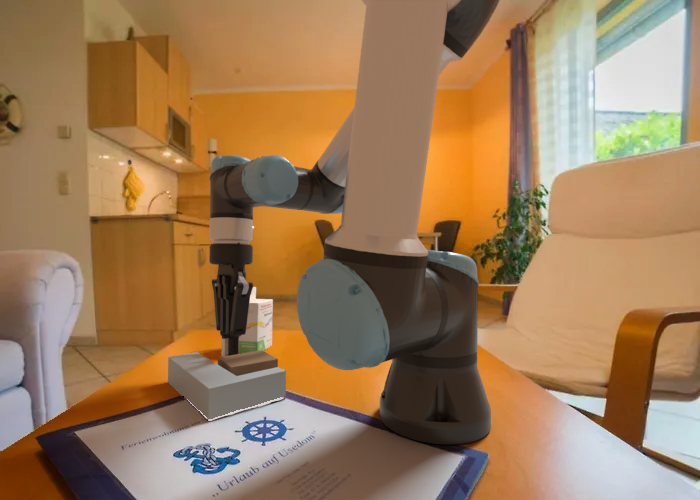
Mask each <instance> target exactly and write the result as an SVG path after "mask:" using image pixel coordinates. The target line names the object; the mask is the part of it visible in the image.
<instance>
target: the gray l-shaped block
mask: <svg viewBox="0 0 700 500" xmlns="http://www.w3.org/2000/svg"><path fill="white" fill-rule="evenodd" d="M167 365H168V366H167V383H168V384H169V385H170V386H171V387H172V388H173V389H174V390H175V391H176V392H177V393H178V394H179V395H180V396H181V397H182V396H184V397H185V398H186V399H188V400H189V401H190V402H191V403H192V404H193V405H194V406H195V407H196V408H197V409H198V410H200V411H201V412H202V413H203V415H205V416H206V417H207V418H208V419H213V418H215V417H218V416H222V415H225V414H228V413H230V412H234V411H236V410H240V409H245V408H248V407H252V406H255V405H258V404H261V403H264V402H267V401H270V400H274V399H277V398H280V397H284V396H286V397H287V395H286V394H287V393H286V392H287V391H286V390H287V386H286V385H287V371H286V370H285V369H283V368H281V367H279V366H278V367H276V368H271V369H267V370H262V371H258V372H253V373H249V374H244V375H240V376H236V375H234V374H232V373H231V372H229V371H227V370H226V369H224V368H222V367H221V366H219V365H218V363H216V362H214V361H212V360H211V359H209V358H208V357H206V356H205V355H203V354H201V353H199V352H198V351H197V352H196V351H195V352H190V353H183V354H178V355H177V354H176V355H173V356H172V355H171V356H168V358H167ZM185 398H184V399H185ZM186 399H185V400H186Z"/></svg>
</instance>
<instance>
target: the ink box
mask: <svg viewBox="0 0 700 500" xmlns="http://www.w3.org/2000/svg"><path fill="white" fill-rule="evenodd" d="M256 297H257V286H253V289H252V292H251V295H250V301H249V309H248V318H247V326H246V333H245V334H244V335H241V336H239V354H241V353H248V352H254V351H260V350H262V351H265V350H267V349H269V348H271V347H272V346H273V310H274V309H273V308H274V304H273V303H274V299H272V298H271V299H270V298H269V299H266V298H256ZM270 346H271V347H270Z"/></svg>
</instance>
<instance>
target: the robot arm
mask: <svg viewBox="0 0 700 500" xmlns="http://www.w3.org/2000/svg"><path fill="white" fill-rule="evenodd" d="M361 1H362V3H363V4H364V5H365V15H364V23H363V31H362V41H361V48H360V55H359V56H360V58H359V66H358V74H357V84H356V91H355V100H354V107H353V108H352V110H351V112H350V113H349V114H348V116H347V117H346V119H344V122H343V123H342V125H341V126H340V127H339V129H338V131H337V132H336V134H334V136H333V138H332V140H331V141H330V142H329V144H328V145H327V147H326V149H324V151H323V153H322V154H321V155H320V157H319V158H318V160H317V161H316V163H315V164H314V165H313V167H312V168H311V169H309V168H305V167H299V166H294V165H293V163H291V161H289V160H288V159H286V157H284V156H282V155H278V154H271V155H270V154H269V155H262V156H259V157H256V158H253V159H252V160H251V159H249V158H248V157H245V156H241V155H240V156H239V155H233V154H225V155H217V156H215V157H213V159H212V160H211V162H210V163H211V165H210V174H209V186H210V187H209V188H210V189H209V191H210V192H209V193H210V194H209V199H210V200H209V201H210V202H209V205H210V207H209V208H210V210H209V212H210V214H209V215H210V216H209V229H208V231H209V233H208V234H209V235H208V236H209V238H208V239H209V240H210V241H211V242H212V243H211V244H210V245H209V264H211V265H216V266H217V265H218V267H217V274H216V279H215V278H214V279H213V278H212V280H211V286H212V289H213V291H212V292H213V300H214V301H213V302H214V312H215V313H214V314H215V328H216V330H217V331H218V332H219V333H220V336H221V355H220V357H223V356H229V355H235V354H240V353H239V336H241V335H244V334H245V333H246V326H247V318H248V309H249V301H250V295H251V292H252V289H253V287H254V285H253V282H248V281H247V279H246V278H247V273H246V268H245V266H246V265H251V264H252V263H253V258H254V257H253V255H254V254H253V253H254V246H253V245H252V244H250V242H252V241H253V236H254V235H253V233H254V230H255V226H253V225H254V221H253V220H254V208H259V207H268V208H269V207H270V208H275V209H276V208H277V209H286V210H295V211H305V212H312V213H318V214H324V215H330V214H333V215H334V214H335V215H336V214H341V220H340V225H339V226H338V228H337V229H336V230H334V232H332V233H331V234H329V236H328V237H326V238H325V240H324V249H323V254H322V255H323V257H322V259H320V260H318V261H316V262H315V263H312V264H311V265H309V266H308V267H307V268H306V269H305V273H303V274H302V275H301V277H300V279H299V282H298V286H297V290H296V291H297V292H296V309H297V316H298V321H299V325H300V328H301V330H302V333H303V335H304V336H305V338H306V340H307V342H308V345H309V346H310V348H311V349H312V351H313V352H314V354H315V355H316V356H317V357H318V358H320V360H322V362H324V363H326V364H327V365H329V366H331V368H332V367H333V368H335V369H338V370H342V371H354V370H360V369H363V368H368V369H371V368H374V367H378V366H380V365H381V364H383V363H385V362H388V361H390V360H391V363H390V367H389V369H388V370H389V371H388V373H387V376H386V380H385V382H384V386H383V391H382V392H381V394H380V398H379V418H380V421H381V422H382V423H383V425H385V426H386V427H387V428H388V429H389V430H391V431H393V433H396V434H399V435H400V436H402V437H405V438H408V439H410V440H415V441H418V442H423V443H427V444H434V445H461V444H468V443H473V442H476V441H478V440H480V439H483V438H484V437H486V436H487V435H488V434H489V433H490V431H491V430H492V410H491V405H490V403H489V399H488V397H487V392H486V390H485V386H484V384H483V383H484V382H483V380H482V377H481V375H480V374H481V373H480V370H479V368H478V325H479V323H478V321H479V320H478V319H479V318H478V314H479V313H478V309H479V306H478V304H479V288H480V287H479V286H480V281H479V279H478V268H477V267H478V266H477V263H476V262H475V261H474V259H473V258H472V257H470V256H469V255H465V254H461V253H456V252H451V251H440V250H433V249H427V248H426V247H425V246H424V244H423V243H422V242H421V240H420V238H419V236H418V228H419V221H420V215H421V214H420V213H421V207H422V206H421V205H422V199H423V193H424V185H425V178H426V172H427V163H428V156H429V150H430V149H429V148H430V143H431V142H430V141H431V136H432V135H431V134H432V129H433V128H432V127H433V119H434V112H435V107H436V106H435V105H436V98H437V91H438V85H439V77H440V75H441V74H442V72H443V71H444V70H445V69H446V68H447V66H448V65H449V64H450V63H452V62H457V61H461V60H462V59H463V58H464V56H466V54H467V52H468V51H469V50H471V48H472V47H473V45H474V44H475V43H476V42H477V40H478V39H479V37H480V36H481V34H482V33H483V31H484V30H485V28H486V26H487V25H488V23H489V22H490V20H491V18H492V17H493V14H494V13H495V10H496V9H497V7H498V5H499V3H500V1H501V0H361Z"/></svg>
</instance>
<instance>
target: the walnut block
mask: <svg viewBox="0 0 700 500" xmlns="http://www.w3.org/2000/svg"><path fill="white" fill-rule="evenodd" d="M217 364H218V365H219V366H221V367H222V368H224V369H226V370H227V371H229V372H231V373H232V374H234V375H236V376H240V375H244V374H249V373H253V372H258V371H262V370H267V369H271V368H276V367H279V359H278V358H277V357H275V356H273V355H271V354H269V353H267V352H266V351H265V350H263V351H262V350H260V351H254V352H248V353H239V354H235V355H229V356H223V357H221V356H218V357H217Z"/></svg>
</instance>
